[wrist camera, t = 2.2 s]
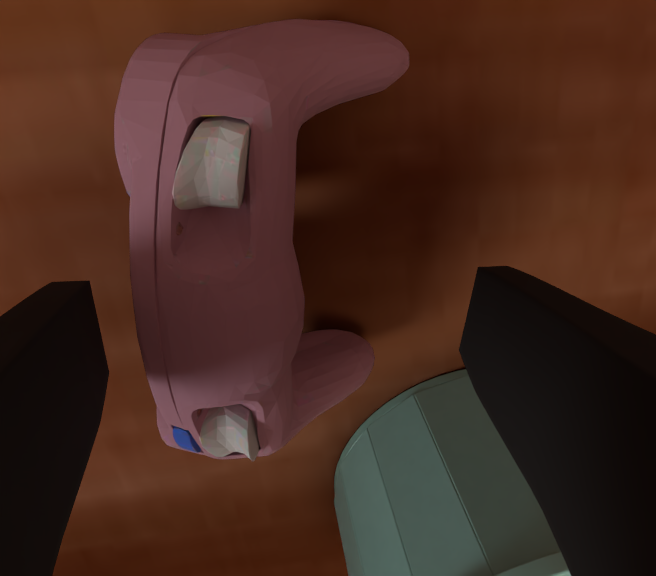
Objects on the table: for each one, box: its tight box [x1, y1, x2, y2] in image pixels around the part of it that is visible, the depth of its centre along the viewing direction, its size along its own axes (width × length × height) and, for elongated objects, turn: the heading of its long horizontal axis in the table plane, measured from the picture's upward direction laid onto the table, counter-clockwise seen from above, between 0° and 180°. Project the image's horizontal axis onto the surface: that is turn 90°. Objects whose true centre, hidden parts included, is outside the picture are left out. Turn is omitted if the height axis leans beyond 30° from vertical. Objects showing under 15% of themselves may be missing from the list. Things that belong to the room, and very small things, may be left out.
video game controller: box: [114, 19, 409, 461], centre depth 12 cm, size 10×5×7 cm, turn 177°
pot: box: [334, 369, 560, 576], centre depth 18 cm, size 10×10×7 cm
